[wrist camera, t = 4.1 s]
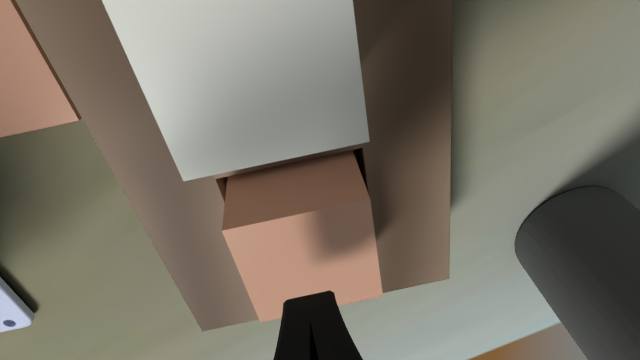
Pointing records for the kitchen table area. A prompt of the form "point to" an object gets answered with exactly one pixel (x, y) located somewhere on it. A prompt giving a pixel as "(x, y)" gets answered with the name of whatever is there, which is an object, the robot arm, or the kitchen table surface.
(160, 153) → the brown wooden tray
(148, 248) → the kitchen table surface
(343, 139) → the white cube
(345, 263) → the salmon cube
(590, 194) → the bottle
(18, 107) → the tile
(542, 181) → the kitchen table surface
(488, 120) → the kitchen table surface
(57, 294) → the kitchen table surface
